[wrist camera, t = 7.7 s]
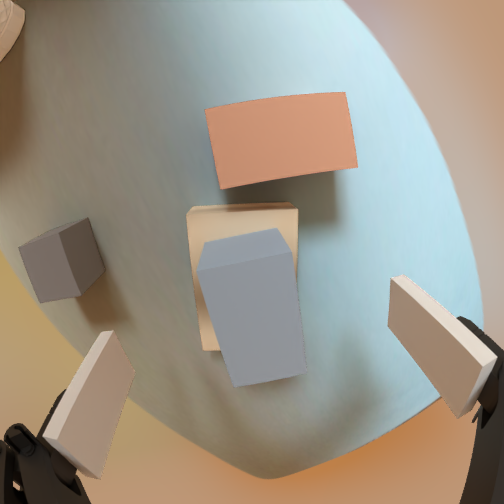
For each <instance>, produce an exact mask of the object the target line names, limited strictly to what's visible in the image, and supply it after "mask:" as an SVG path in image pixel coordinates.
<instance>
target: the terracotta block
mask: <svg viewBox="0 0 504 504" xmlns="http://www.w3.org/2000/svg"><path fill="white" fill-rule="evenodd" d="M205 115H206V120H207V125H208V130H209V135H210V140H211V145H212V150H213V155H214V160H215V165H216V170H217V175H218V180H219V185H220V190H222V189H226V188H231V187H236V186H242V185H247V184H252V183H258V182H263V181H269V180H274V179H280V178H286V177H292V176H299V175H305V174H312V173H319V172H326V171H333V170H341V169H349V168H358V163H357V156H356V149H355V143H354V136H353V130H352V124H351V119H350V113H349V108H348V103H347V98H346V94H345V92H332V93H314V94H301V95H291V96H281V97H273V98H266V99H258V100H252V101H246V102H240V103H234V104H229V105H223V106H218V107H214V108H209V109H205Z"/></svg>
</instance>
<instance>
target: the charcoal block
mask: <svg viewBox="0 0 504 504" xmlns="http://www.w3.org/2000/svg"><path fill="white" fill-rule="evenodd" d="M18 248H19V251H20V254H21V257H22V260H23V263H24V265H25V268H26V271H27V273H28V276H29V278H30V281H31V283H32V286H33V288H34V291H35V293H36V295H37V297H38V300H39V302H40V303H44V302H49V301H55V300H60V299H66V298H72V297H77V296H82V295H83V293H84V292H85V291H86V290H87V289H88V288H89V287H90V286H91V285H92V284H93V283H94V282H95V281H96V280H97V279H98V278H99V277H100V276H101V275H102V274H103V272H104V271H105V269H104V266H103V263H102V260H101V257H100V254H99V251H98V248H97V245H96V242H95V239H94V236H93V232H92V229H91V226H90V222H89V219H88V218H85V219H82V220H79V221H76V222H73V223H70V224H67V225H64V226H61V227H58V228H56V229H53V230H50V231H48V232H46V233H44V234H42V235H40V236H38V237H36V238H35V239H33V240H31V241H29V242H27V243H25V244H24V245H22V246H20V247H18Z"/></svg>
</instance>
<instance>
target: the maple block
mask: <svg viewBox="0 0 504 504" xmlns="http://www.w3.org/2000/svg"><path fill="white" fill-rule="evenodd" d="M186 219H187V230H188V241H189V250H190V260H191V268H192V277H193V285H194V293H195V300H196V308H197V315H198V322H199V328H200V335H201V341H202V347H203V351H208V350H220V347H219V344H218V341H217V338H216V335H215V332H214V328H213V325H212V322H211V319H210V316H209V313H208V309H207V306H206V303H205V300H204V296H203V293H202V290H201V286H200V283H199V279H198V276H197V272H196V270H197V266H198V263H199V260H200V256H201V253H202V250H203V246H204V243H205V242H209V241H214V240H218V239H223V238H228V237H233V236H238V235H243V234H247V233H252V232H257V231H262V230H267V229H272V228H278V230H279V232H280V233H281V235H282V236H283V238H284V240H285V241H286V243H287V244H288V246H289V248H290V249H291V251H292V256H293V262H294V269H295V276H296V283H297V251H298V209H297V208H296V207H294V206H293V205H292V204H291V203H290V202H272V203H245V204H224V205H206V206H193V207H192V208H191V209H190V210H189V212H188V213H187V214H186Z"/></svg>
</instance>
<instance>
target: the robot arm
mask: <svg viewBox="0 0 504 504" xmlns="http://www.w3.org/2000/svg"><path fill="white" fill-rule="evenodd" d="M388 327H389V329H390V330H391V331H392V332H393V333H394V335H395V336H396V337H397V338H398V340H399V341H400V342H401V344H402V345H403V346H404V347H405V349H406V350H407V351H408V352H409V354H410V355H411V356H412V358H413V359H414V360H415V362H416V363H417V364H418V365H419V367H420V368H421V369H422V371H423V372H424V373H425V375H426V376H427V377H428V379H429V380H430V381H431V383H432V384H433V385H434V387H435V388H436V390H437V391H438V392H439V394H440V395H441V397H442V398H443V399H444V401H445V402H446V404H447V405H448V406H449V408H450V409H451V411H452V412H453V413H454V415H455V416H456V418H457V419H458V418H460V417H461V416H463V415H464V414H466V413H468V412H469V411H471V410H472V408H473V407H474V405H475V403H476V401H477V400H478V401H479V402H480V404H481V406H480V408H479V409H478V411H477V413H476V414H475V416H474V418H473V420H472V423H474V422H475V420H476V419H477V417H478V421H477V429H476V436H475V442H474V448H473V453H472V458H471V463H470V467H469V472H468V476H467V479H466V483H465V487H464V490H463V494H462V497H461V500H460V504H504V350H503V349H501V348H500V347H499V346H498V345H497V344H496V343H495V342H494V341H493V340H492V339H491V338H490V337H489V336H487V335H485V334H484V332H483V331H482V330H481V329H479V328H478V327H477V326H476V325H475V324H474V323H473V322H472V321H470V320H468V319H466V318H464V317H461V316H460V317H457V318H455V317H454V316H453V315H452V314H451V313H450V312H449V311H447V310H446V309H445V308H444V307H443V306H442V305H441V304H439V303H438V302H437V301H436V300H435V299H433V298H432V297H431V296H430V295H429V294H427V293H426V292H425V291H424V290H423V289H421V288H420V287H419V286H418V285H417V284H415V283H414V282H413V281H412V280H410V279H409V278H408V277H407V276H405V275H404V274H403V275H400V276H396V277H393V278H391V282H390V302H389V316H388ZM134 376H135V371H134V369H133V367H132V365H131V363H130V362H129V360H128V358H127V356H126V354H125V352H124V350H123V348H122V346H121V344H120V342H119V340H118V338H117V336H116V334H115V332H114V330H113V331H103V332H101V333H100V334H99V336H98V338H97V339H96V341H95V342H94V344H93V346H92V347H91V349H90V350H89V352H88V354H87V355H86V357H85V359H84V361H83V362H82V364H81V365H80V367H79V369H78V370H77V372H76V374H75V376H74V377H73V379H72V381H71V383H70V384H69V387H68V388H67V389H65V390H64V391H63V392H62V393H61V394H60V395H59V396H58V397H57V399H56V401H55V402H54V405H53V407H52V408H51V410H50V412H49V413H50V414H48V415H47V417H46V419H45V421H44V423H43V425H42V427H41V429H40V431H39V433H38V435H37V437H35V436H34V435H33V434H32V433H31V432H30V431H29V430H28V429H27V428H26V427H25V426H24V425H23V424H21V423H17V424H14V425H12V426H11V427H9V429H8V430H7V431H6V433H5V435H4V441H2V440H0V504H91V502H90V501H89V498H88V496H87V494H86V492H85V490H84V487H83V485H82V483H81V481H80V479H79V477H78V476H77V475H76V471H77V469H78V470H79V471H80V472H81V473H82V474H84V475H85V476H87V477H91V478H96V479H101V476H102V473H103V469H104V466H105V462H106V459H107V456H108V452H109V449H110V446H111V442H112V439H113V436H114V433H115V430H116V427H117V424H118V421H119V418H120V415H121V412H122V409H123V406H124V403H125V401H126V398H127V395H128V392H129V389H130V387H131V384H132V381H133V378H134ZM13 481H14V482H15V483H17V484H18V485H19V486H20V491H19V490H17V489H16V488H14V487H13Z"/></svg>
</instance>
